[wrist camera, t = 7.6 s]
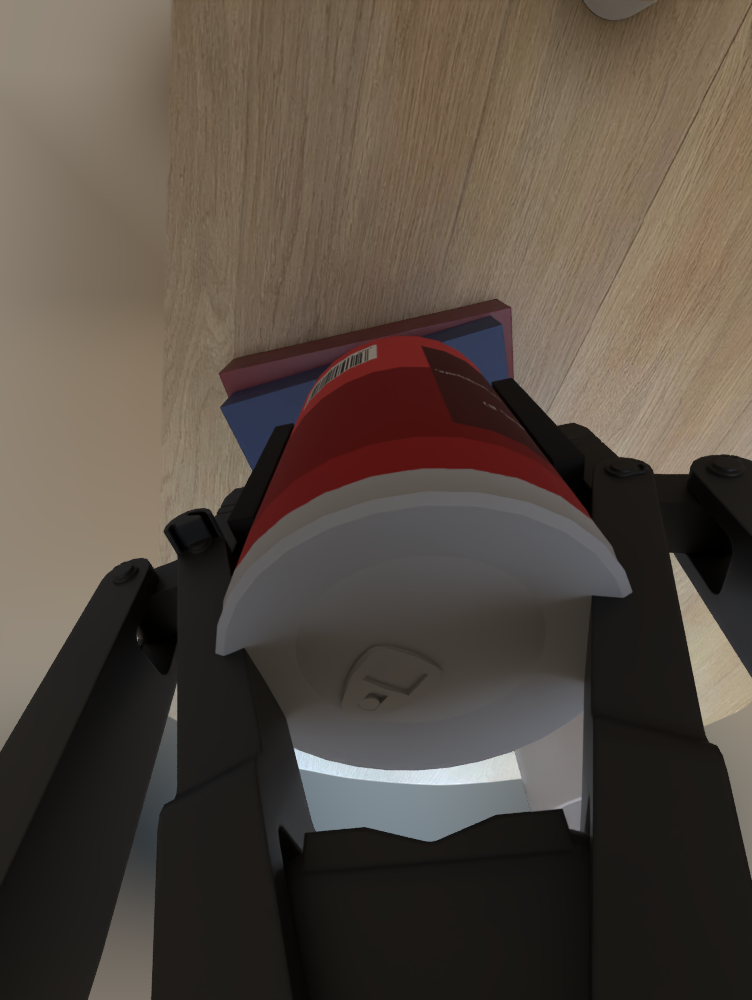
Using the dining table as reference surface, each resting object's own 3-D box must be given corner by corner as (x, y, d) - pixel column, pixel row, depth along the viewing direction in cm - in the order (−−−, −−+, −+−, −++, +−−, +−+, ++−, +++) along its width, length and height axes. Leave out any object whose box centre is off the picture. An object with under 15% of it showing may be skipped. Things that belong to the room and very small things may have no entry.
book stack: (233, 359, 39) (203, 386, 32) (497, 298, 36) (524, 315, 29) (292, 508, 48) (278, 554, 41) (505, 469, 45) (528, 511, 38)
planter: (637, 704, 69) (709, 835, 54) (525, 737, 75) (563, 863, 60) (606, 639, 60) (682, 774, 45) (482, 681, 66) (513, 814, 51)
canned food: (288, 493, 19) (201, 753, 9) (321, 302, 14) (225, 428, 5) (450, 528, 20) (518, 792, 10) (525, 359, 16) (748, 549, 6)
